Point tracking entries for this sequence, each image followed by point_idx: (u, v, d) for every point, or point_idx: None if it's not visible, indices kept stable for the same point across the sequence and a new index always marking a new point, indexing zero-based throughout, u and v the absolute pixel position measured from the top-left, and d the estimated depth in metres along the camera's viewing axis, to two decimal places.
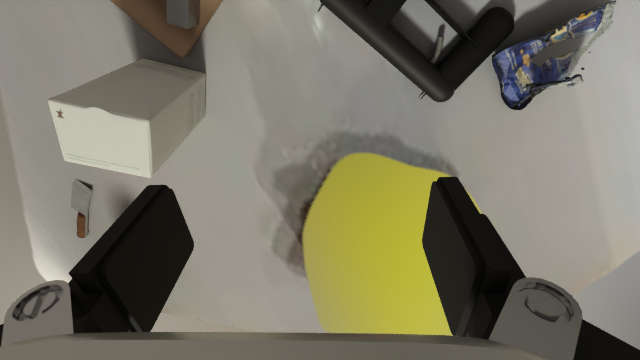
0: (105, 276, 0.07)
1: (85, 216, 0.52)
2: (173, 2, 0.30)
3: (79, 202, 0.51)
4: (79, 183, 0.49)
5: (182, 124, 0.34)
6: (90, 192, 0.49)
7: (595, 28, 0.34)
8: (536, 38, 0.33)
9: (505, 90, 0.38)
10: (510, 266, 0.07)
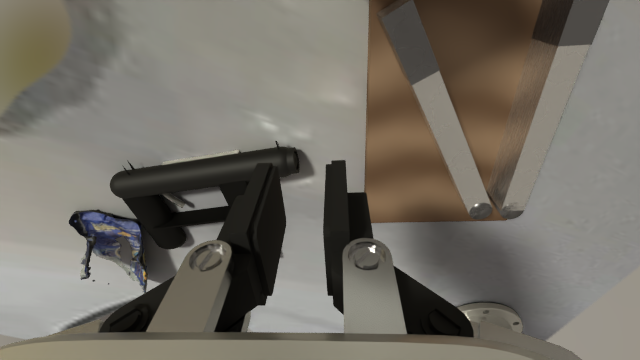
0: (256, 237, 0.08)
1: None
2: (414, 35, 0.20)
3: None
4: None
5: None
6: None
7: (133, 271, 0.41)
8: (140, 252, 0.36)
9: (98, 213, 0.36)
10: (347, 228, 0.08)
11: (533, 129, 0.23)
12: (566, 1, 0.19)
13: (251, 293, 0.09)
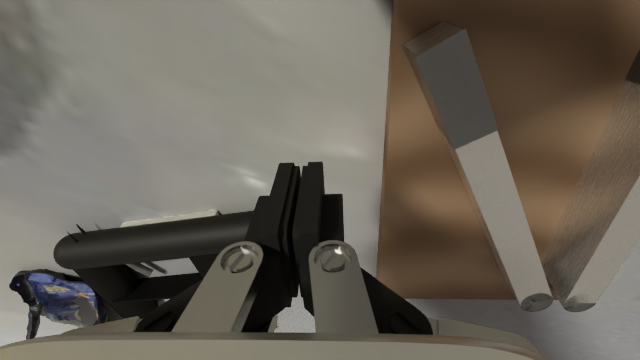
0: (286, 238, 0.08)
1: None
2: (464, 82, 0.13)
3: None
4: None
5: None
6: None
7: None
8: (98, 320, 0.29)
9: (47, 273, 0.29)
10: (316, 230, 0.08)
11: (626, 208, 0.16)
12: None
13: (280, 295, 0.09)
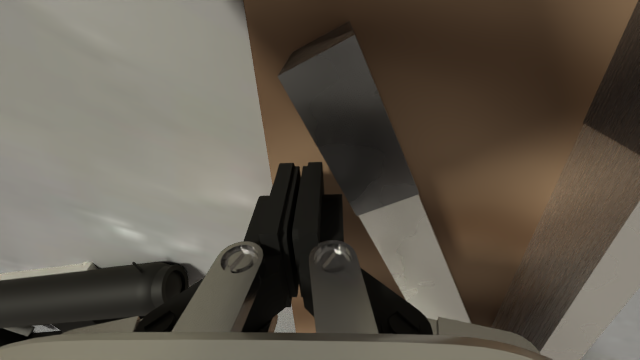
0: (286, 238, 0.08)
1: None
2: (362, 121, 0.08)
3: None
4: None
5: None
6: None
7: None
8: None
9: None
10: (315, 230, 0.08)
11: (583, 298, 0.12)
12: None
13: (280, 295, 0.09)
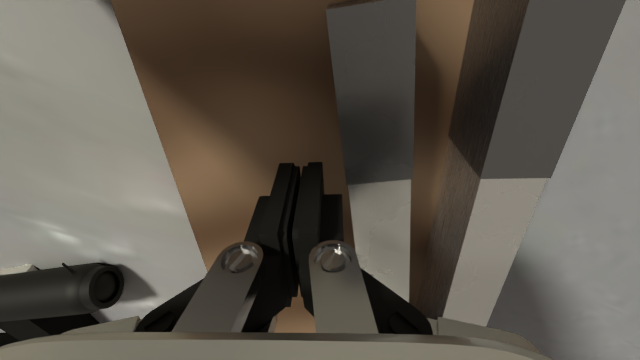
0: (286, 238, 0.08)
1: None
2: (389, 88, 0.08)
3: None
4: None
5: None
6: None
7: None
8: None
9: None
10: (315, 230, 0.08)
11: (454, 298, 0.13)
12: (491, 91, 0.09)
13: (280, 295, 0.09)
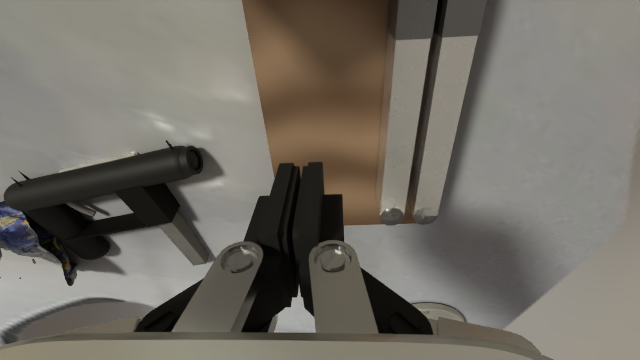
0: (286, 238, 0.08)
1: None
2: None
3: None
4: None
5: None
6: None
7: None
8: (38, 236, 0.32)
9: None
10: (316, 230, 0.08)
11: (431, 130, 0.21)
12: None
13: (280, 295, 0.09)
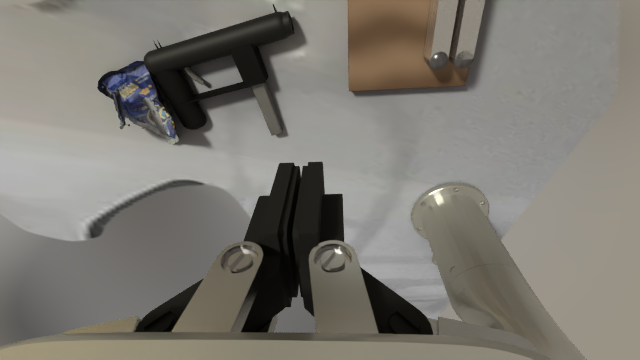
0: (286, 238, 0.08)
1: None
2: None
3: None
4: None
5: None
6: None
7: (169, 135, 0.46)
8: (156, 93, 0.41)
9: (116, 75, 0.42)
10: (315, 230, 0.08)
11: None
12: None
13: (280, 295, 0.09)
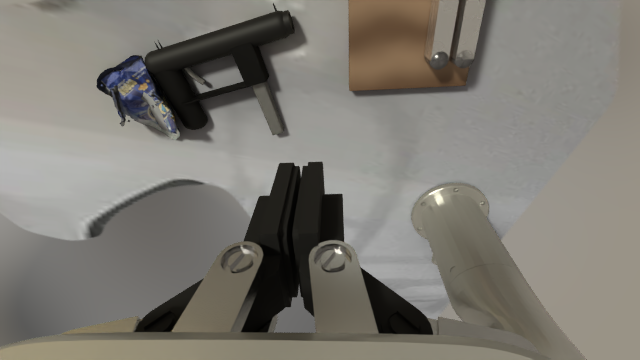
0: (286, 238, 0.08)
1: None
2: None
3: None
4: None
5: None
6: None
7: (171, 131, 0.46)
8: (154, 87, 0.41)
9: (114, 73, 0.42)
10: (315, 230, 0.08)
11: None
12: None
13: (280, 295, 0.09)
